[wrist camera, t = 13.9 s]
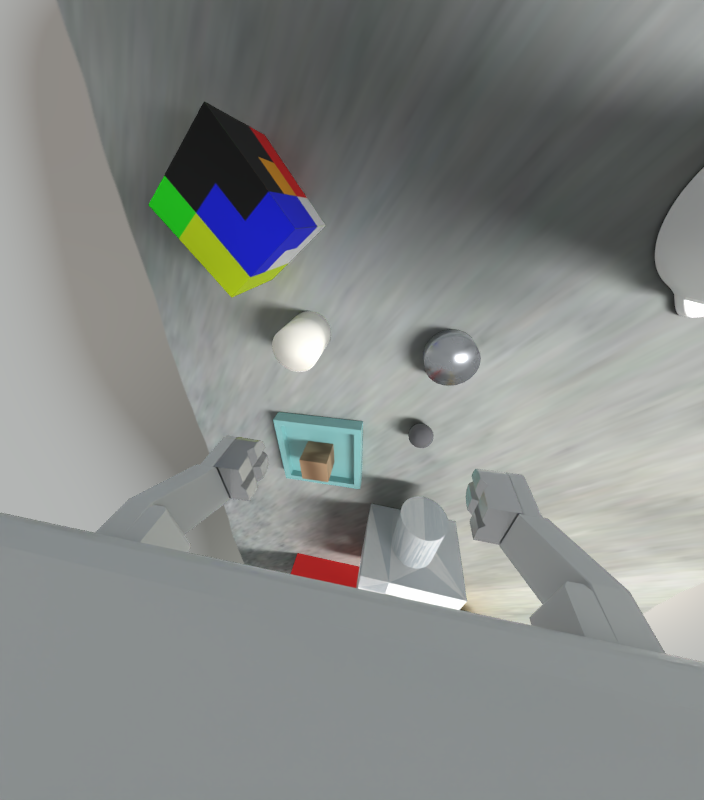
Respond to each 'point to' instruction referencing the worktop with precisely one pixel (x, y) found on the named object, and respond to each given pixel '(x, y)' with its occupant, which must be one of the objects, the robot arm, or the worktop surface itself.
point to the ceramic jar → (302, 341)
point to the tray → (335, 431)
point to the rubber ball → (421, 435)
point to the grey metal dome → (451, 357)
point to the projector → (413, 554)
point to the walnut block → (317, 461)
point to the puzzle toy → (234, 202)
